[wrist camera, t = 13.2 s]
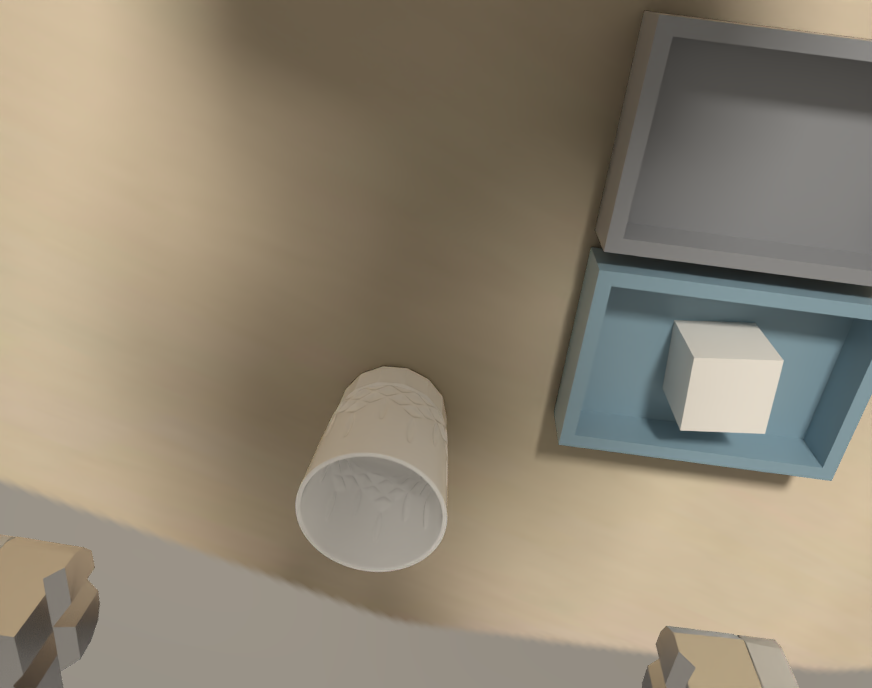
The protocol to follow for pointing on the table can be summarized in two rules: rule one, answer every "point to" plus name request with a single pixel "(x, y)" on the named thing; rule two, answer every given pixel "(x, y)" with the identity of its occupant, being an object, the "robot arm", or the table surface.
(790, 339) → the bin
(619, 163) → the tray
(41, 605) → the robot arm
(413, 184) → the table surface
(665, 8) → the table surface
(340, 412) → the white cup
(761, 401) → the white cube
